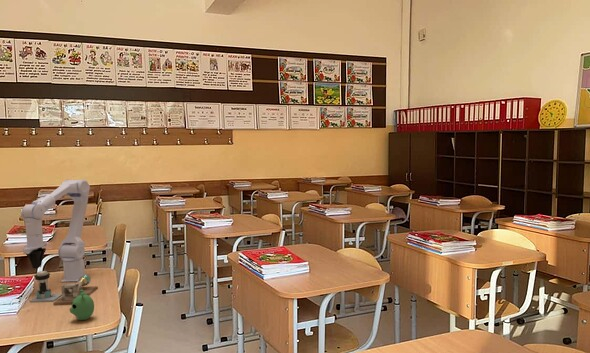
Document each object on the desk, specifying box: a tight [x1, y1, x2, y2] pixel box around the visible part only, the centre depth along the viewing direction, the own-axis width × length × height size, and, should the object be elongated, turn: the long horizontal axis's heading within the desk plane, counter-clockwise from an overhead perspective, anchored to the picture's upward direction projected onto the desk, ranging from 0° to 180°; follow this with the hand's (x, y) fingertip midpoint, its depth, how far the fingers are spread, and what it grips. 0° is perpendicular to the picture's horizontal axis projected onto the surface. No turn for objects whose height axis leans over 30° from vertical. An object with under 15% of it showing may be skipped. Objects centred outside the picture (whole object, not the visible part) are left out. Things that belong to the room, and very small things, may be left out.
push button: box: [34, 270, 56, 299], centre depth 187 cm, size 7×5×10 cm
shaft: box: [67, 274, 92, 294], centre depth 191 cm, size 15×4×4 cm, turn 1°
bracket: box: [52, 283, 99, 306], centre depth 189 cm, size 19×9×6 cm, turn 1°
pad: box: [29, 293, 62, 303], centre depth 188 cm, size 7×9×1 cm
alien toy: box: [69, 290, 95, 321], centre depth 164 cm, size 7×8×10 cm
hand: (37, 267), depth 195 cm, fingers closed
